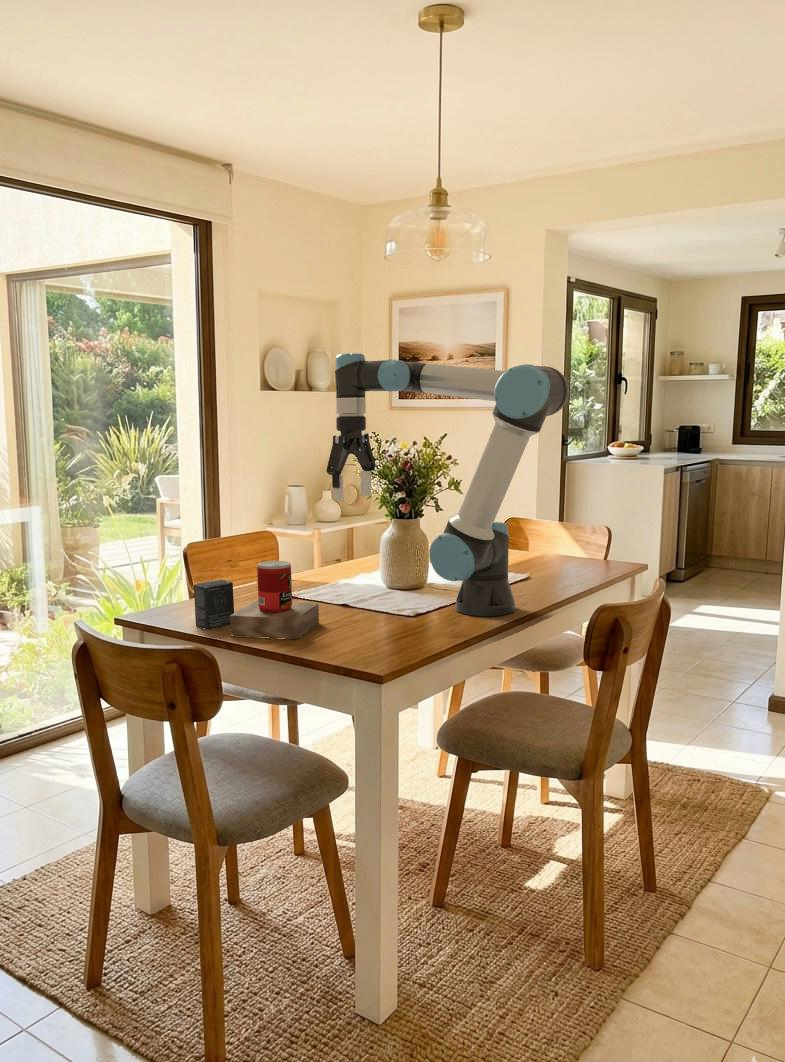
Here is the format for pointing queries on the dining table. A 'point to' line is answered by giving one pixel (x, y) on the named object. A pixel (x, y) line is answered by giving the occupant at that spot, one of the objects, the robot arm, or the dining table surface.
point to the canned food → (274, 586)
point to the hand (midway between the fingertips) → (352, 498)
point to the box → (213, 603)
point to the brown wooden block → (275, 621)
